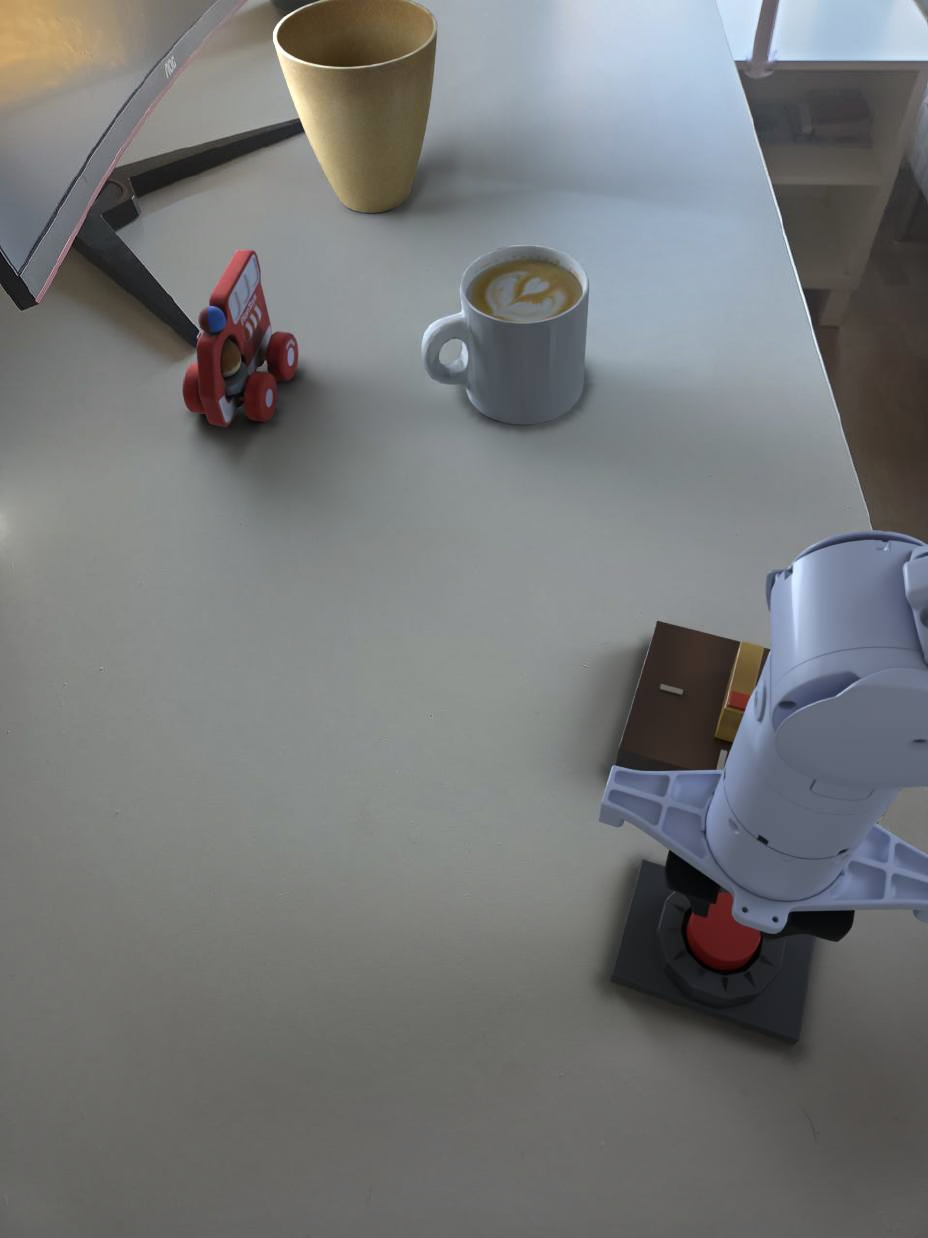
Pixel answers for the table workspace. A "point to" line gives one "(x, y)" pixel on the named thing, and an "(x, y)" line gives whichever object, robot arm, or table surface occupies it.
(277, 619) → the table surface
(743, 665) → the yellow rectangular block
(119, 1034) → the table surface
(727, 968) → the bell button
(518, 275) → the coffee mug
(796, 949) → the dark grey button mount
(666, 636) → the plate
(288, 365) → the toy fire truck
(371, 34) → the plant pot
